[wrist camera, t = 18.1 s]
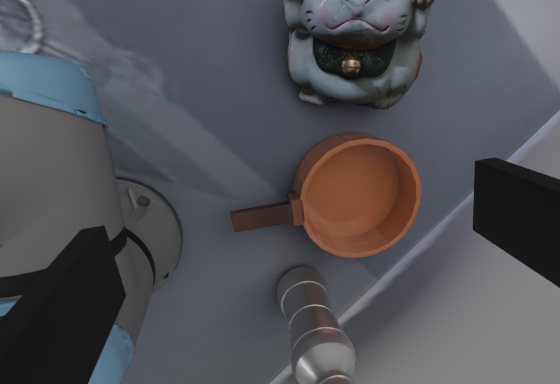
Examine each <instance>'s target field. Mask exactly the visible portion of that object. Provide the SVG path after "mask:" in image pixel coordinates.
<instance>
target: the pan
mask: <svg viewBox="0 0 560 384" xmlns="http://www.w3.org/2000/svg"><path fill="white" fill-rule="evenodd" d="M292 192H293V193H294V192H296V193H297V195H298V197H299V198H300V201H301V200H302V201H303V203H302V204H303V206H301V205H302V204H301V205H300V207H301V209H302V211H303V212H304V213H303V212H302V211H301V214H304V215H302V216H304V217H302V216H301V217H302V219H303V220H304V219H305V220H304V221H305V222H302V223H303V226H304V228H305V230H306V232H307V234H308V236H309V237H310V238H311V239H312V240H313V241H314V242H315V243H316V244H317V245H318V246H319V247H320V248H321V249H323V250H325V251H327V252H329V253H332V254H334V255H336V256H339V257H348V258H361V257H366V256H371V255H375V254H377V253H379V252H381V251H383V250H385V249H387V248H389V247H391V246H392V245H394V244H395V243H396V242H397V241H398V240H399V239H400V238H401V237H403V236H404V235H405V234H406V232H407V231H408V229H409V228H410V226H411V224H412V223H413V221H414V220H415V218H416V215H417V212H418V209H419V205H420V202H421V181H420V178H419V175H418V173H417V170H416V167H415V165H414V163H413V162H412V161H411V160H410V159H409V157H408V156H407V155H406V154H405V153H404V152H403V151H402V150H401V149H399V148H397V147H395V146H393V145H392V144H390V143H388V142H386V141H384V140H382V139H380V138H378V137H376V136H373V135H371V134H366V133H360V132H347V133H341V134H336V135H334V136H331V137H329V138H327V139H325V140H323V141H321V142H320V143H318V144H317V145H316V146H314V147H313V148H312V149H311V150H310V151H309V152H308V153H307V155H306V156H305V157H304V158H303V160H302V161H301V163H300V165H299V167H298V169H297V172H296V174H295V178H294V182H293V191H292ZM303 209H304V210H303ZM303 220H302V221H303ZM304 223H305V224H304Z"/></svg>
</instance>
